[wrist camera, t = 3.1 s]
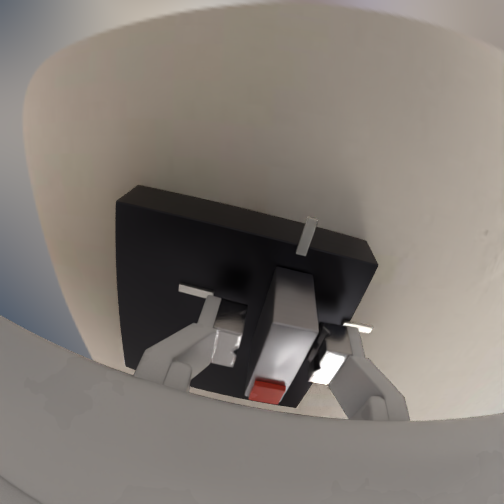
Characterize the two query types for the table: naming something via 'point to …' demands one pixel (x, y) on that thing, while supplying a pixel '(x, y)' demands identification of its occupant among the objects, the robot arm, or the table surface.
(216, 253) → the black flat square piece
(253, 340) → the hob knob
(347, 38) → the table surface
